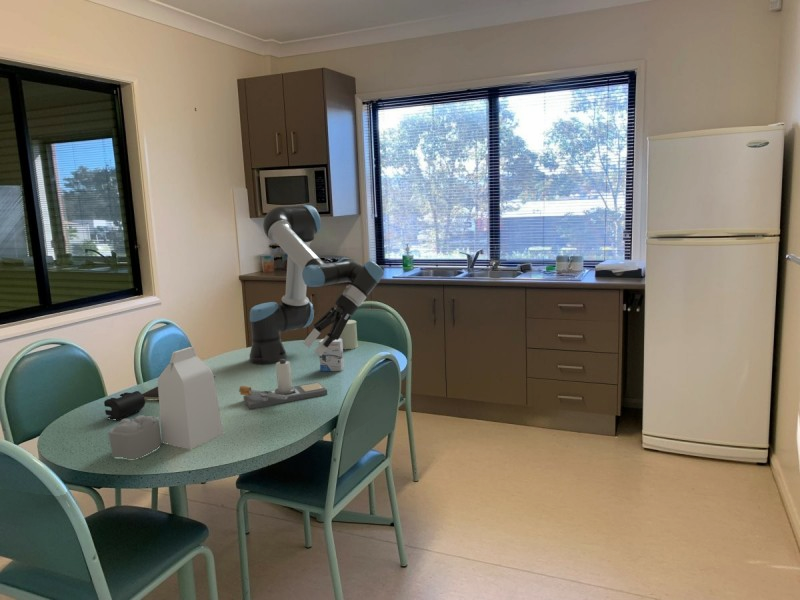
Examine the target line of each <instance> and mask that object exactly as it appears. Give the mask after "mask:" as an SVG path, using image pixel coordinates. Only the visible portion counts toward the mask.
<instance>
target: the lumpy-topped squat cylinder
mask: <svg viewBox="0 0 800 600" xmlns="http://www.w3.org/2000/svg"><path fill="white" fill-rule="evenodd" d="M108 435H109V444H110V449H111V457H112V456H113V457H123V458H127V459H136V458H140V457H142V456H144V455H146V454H148V453H150V452H152V451H153V450H155V449H157V448H158V447H159V446H160V445H161V446H162V444H161V442H162V436H161V426H160V419H159V418H158V417H157V416H153V415H146V416H145V415H143V414H142V415H141V414H140V415H137V416H135V418H121V419H120V421H119V423H118V425H116V426H114V427H113V428H110V430H109V432H108Z"/></svg>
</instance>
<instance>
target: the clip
mask: <svg viewBox="0 0 800 600" xmlns="http://www.w3.org/2000/svg"><path fill="white" fill-rule="evenodd" d="M269 391H270V390H263V391H262V390H256V389H252V387H251V386H246V385H242V386H241V385H240V386H239V389H238V392H239V393H240V395H242V396H245V395H247V396H250V395H252V394H254V395H260V396H261V397H272V398H278V399H284V400H286V399H288V397H287V395H281V394H275V393H270V392H269Z"/></svg>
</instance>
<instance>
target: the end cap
mask: <svg viewBox="0 0 800 600" xmlns="http://www.w3.org/2000/svg"><path fill="white" fill-rule="evenodd" d="M142 394H143V393H142V392H140V391H139V390H136V391H132V392H124V393H121V394H119V397H117V398H116V397H110V398H107V399H106V400H104V402H103V404H104V407H107V408H110V409H111V410H109V409H105V410H104V411H105V415H106V416H107V417H106V418H110V419H116V421H118V419H119V420H121V419H124V418H126V417H128V416H131V415H132V413H133V414H135V413H137V412H136V411H138V412H139V410H140V411H141V410H142V409H143V408H145V406H146V405H145V404H146V400H145V399H144V396H143V395H142ZM134 412H135V413H134ZM130 414H131V415H130ZM127 415H128V416H127ZM125 416H126V417H125ZM123 417H124V418H123ZM120 418H121V419H120Z"/></svg>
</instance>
